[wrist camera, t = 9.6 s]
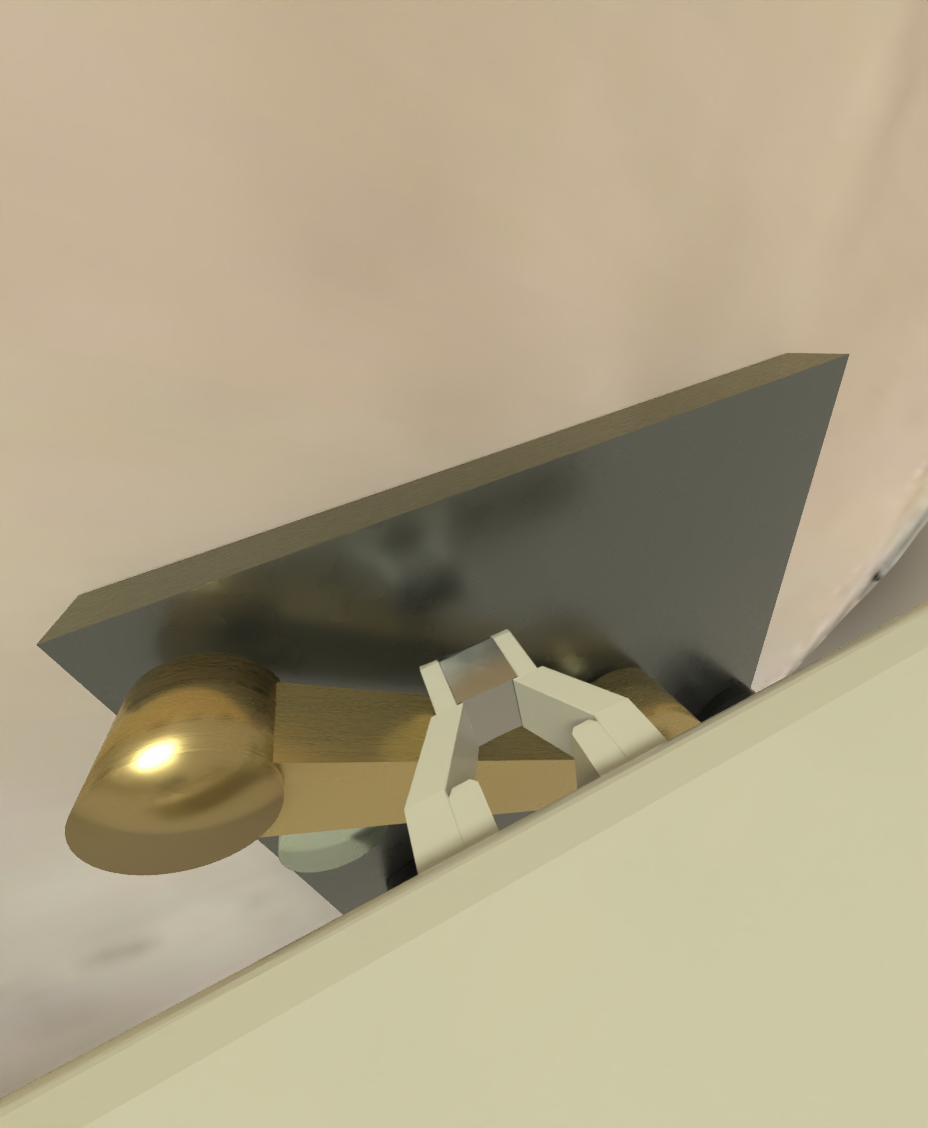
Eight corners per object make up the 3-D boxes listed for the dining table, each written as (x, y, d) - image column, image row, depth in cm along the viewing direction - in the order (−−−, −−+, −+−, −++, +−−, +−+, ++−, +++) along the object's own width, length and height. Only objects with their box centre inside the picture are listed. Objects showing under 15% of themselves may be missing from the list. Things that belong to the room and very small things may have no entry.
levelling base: (78, 595, 10) (-71, 769, 6) (787, 353, 15) (978, 355, 11) (357, 885, 21) (373, 1017, 17) (713, 693, 26) (793, 759, 21)
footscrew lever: (670, 673, 18) (745, 738, 15) (612, 752, 19) (669, 825, 16) (157, 583, 8) (85, 712, 5) (119, 752, 10) (45, 926, 7)
